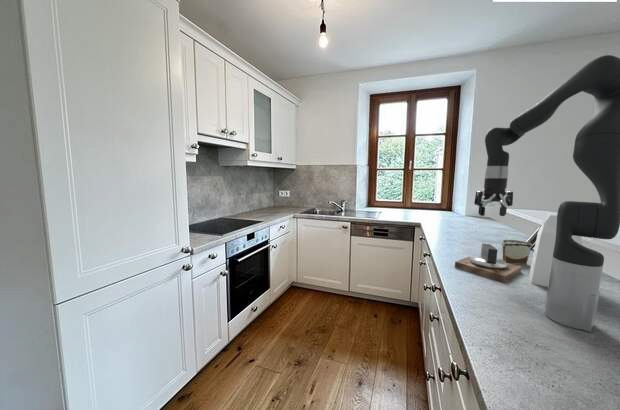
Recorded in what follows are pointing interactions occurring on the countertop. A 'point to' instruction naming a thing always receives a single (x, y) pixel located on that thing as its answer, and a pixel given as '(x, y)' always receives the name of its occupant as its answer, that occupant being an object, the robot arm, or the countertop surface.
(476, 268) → the wooden board
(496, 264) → the dial
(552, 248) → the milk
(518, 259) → the food container
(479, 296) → the countertop surface
